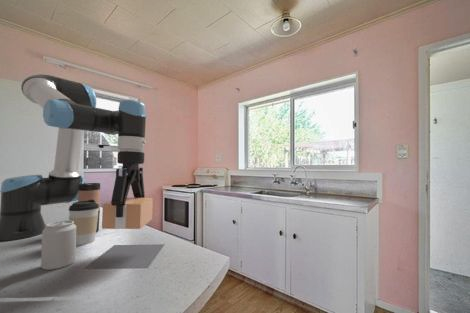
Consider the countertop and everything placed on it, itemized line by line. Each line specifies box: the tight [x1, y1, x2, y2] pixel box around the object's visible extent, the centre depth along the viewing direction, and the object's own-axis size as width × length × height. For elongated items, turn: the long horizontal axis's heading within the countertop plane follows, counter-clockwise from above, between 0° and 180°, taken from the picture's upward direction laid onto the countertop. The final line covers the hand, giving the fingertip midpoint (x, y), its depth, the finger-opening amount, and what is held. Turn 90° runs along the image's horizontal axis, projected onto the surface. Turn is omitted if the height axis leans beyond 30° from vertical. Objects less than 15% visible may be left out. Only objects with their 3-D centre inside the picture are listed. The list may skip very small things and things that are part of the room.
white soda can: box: [40, 219, 77, 271], centre depth 61 cm, size 8×8×12 cm
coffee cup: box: [68, 200, 99, 248], centre depth 77 cm, size 9×9×15 cm
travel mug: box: [77, 182, 101, 233], centre depth 90 cm, size 8×8×20 cm
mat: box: [82, 243, 166, 270], centre depth 66 cm, size 17×17×1 cm
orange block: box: [101, 197, 154, 230], centre depth 67 cm, size 11×11×7 cm
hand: (129, 222), depth 67 cm, fingers closed on orange block, 11 cm apart
